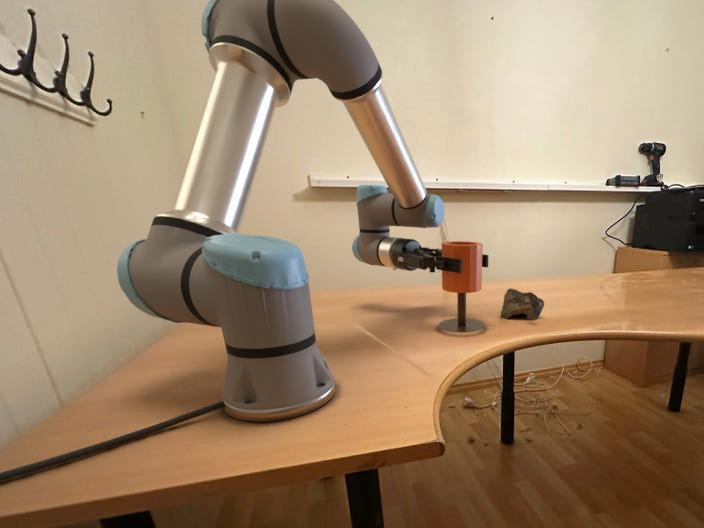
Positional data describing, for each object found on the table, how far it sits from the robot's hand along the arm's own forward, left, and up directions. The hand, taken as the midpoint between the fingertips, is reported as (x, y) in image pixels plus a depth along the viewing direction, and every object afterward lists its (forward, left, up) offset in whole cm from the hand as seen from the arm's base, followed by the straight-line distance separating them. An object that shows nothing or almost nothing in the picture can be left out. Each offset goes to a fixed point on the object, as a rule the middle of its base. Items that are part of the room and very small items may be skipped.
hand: (474, 263), depth 87 cm
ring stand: (-1, +3, -16) cm, 16 cm away
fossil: (+17, +2, -16) cm, 23 cm away
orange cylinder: (-1, +3, -6) cm, 7 cm away
